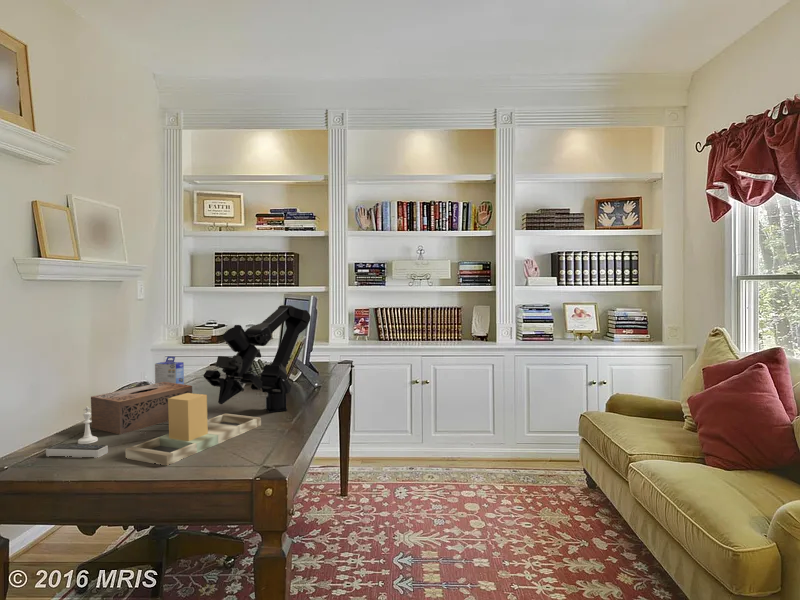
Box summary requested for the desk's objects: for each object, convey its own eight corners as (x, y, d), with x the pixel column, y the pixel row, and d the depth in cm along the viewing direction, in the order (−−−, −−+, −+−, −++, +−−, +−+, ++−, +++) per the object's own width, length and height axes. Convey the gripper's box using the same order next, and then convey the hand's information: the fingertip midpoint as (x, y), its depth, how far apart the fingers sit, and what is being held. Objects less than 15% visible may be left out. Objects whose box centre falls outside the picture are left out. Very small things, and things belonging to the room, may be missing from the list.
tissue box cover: (164, 409, 184) (164, 381, 183) (192, 414, 177) (192, 385, 176) (91, 428, 161) (90, 396, 161) (120, 435, 154) (119, 401, 154)
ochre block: (188, 431, 148) (187, 392, 148) (207, 433, 146) (206, 394, 145) (169, 438, 142) (168, 398, 141) (188, 441, 139) (187, 400, 139)
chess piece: (80, 439, 149) (79, 405, 149) (99, 438, 150) (99, 403, 150) (75, 444, 144) (74, 409, 144) (95, 443, 146) (94, 407, 145)
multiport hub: (97, 459, 134) (97, 450, 134) (45, 457, 135) (45, 449, 135) (108, 453, 138) (108, 445, 138) (58, 452, 140) (57, 443, 140)
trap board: (225, 421, 168) (225, 413, 167) (261, 425, 162) (260, 417, 162) (125, 458, 133) (125, 448, 133) (166, 465, 128) (166, 455, 128)
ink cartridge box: (185, 391, 211) (184, 356, 211) (176, 394, 206) (175, 358, 205) (163, 390, 213) (162, 355, 213) (154, 393, 208) (153, 357, 207)
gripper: (206, 344, 163) (180, 386, 153) (255, 346, 156) (231, 391, 146) (224, 364, 170) (201, 406, 161) (272, 368, 163) (250, 411, 154)
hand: (219, 403), depth 155 cm, fingers closed
